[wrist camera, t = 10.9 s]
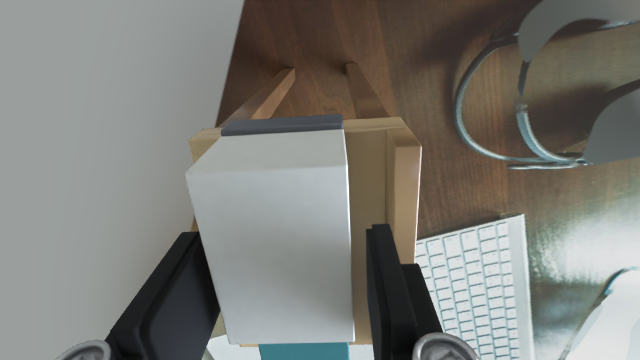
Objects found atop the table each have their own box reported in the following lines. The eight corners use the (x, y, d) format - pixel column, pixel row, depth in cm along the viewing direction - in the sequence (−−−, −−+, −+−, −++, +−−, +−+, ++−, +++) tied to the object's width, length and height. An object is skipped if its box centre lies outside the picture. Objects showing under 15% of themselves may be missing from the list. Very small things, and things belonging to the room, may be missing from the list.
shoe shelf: (201, 128, 14) (161, 160, 10) (400, 115, 13) (422, 145, 10) (246, 323, 18) (228, 386, 15) (394, 320, 18) (408, 384, 14)
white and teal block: (229, 120, 12) (180, 166, 8) (342, 113, 12) (347, 156, 8) (268, 323, 16) (248, 417, 12) (351, 322, 16) (358, 416, 12)
